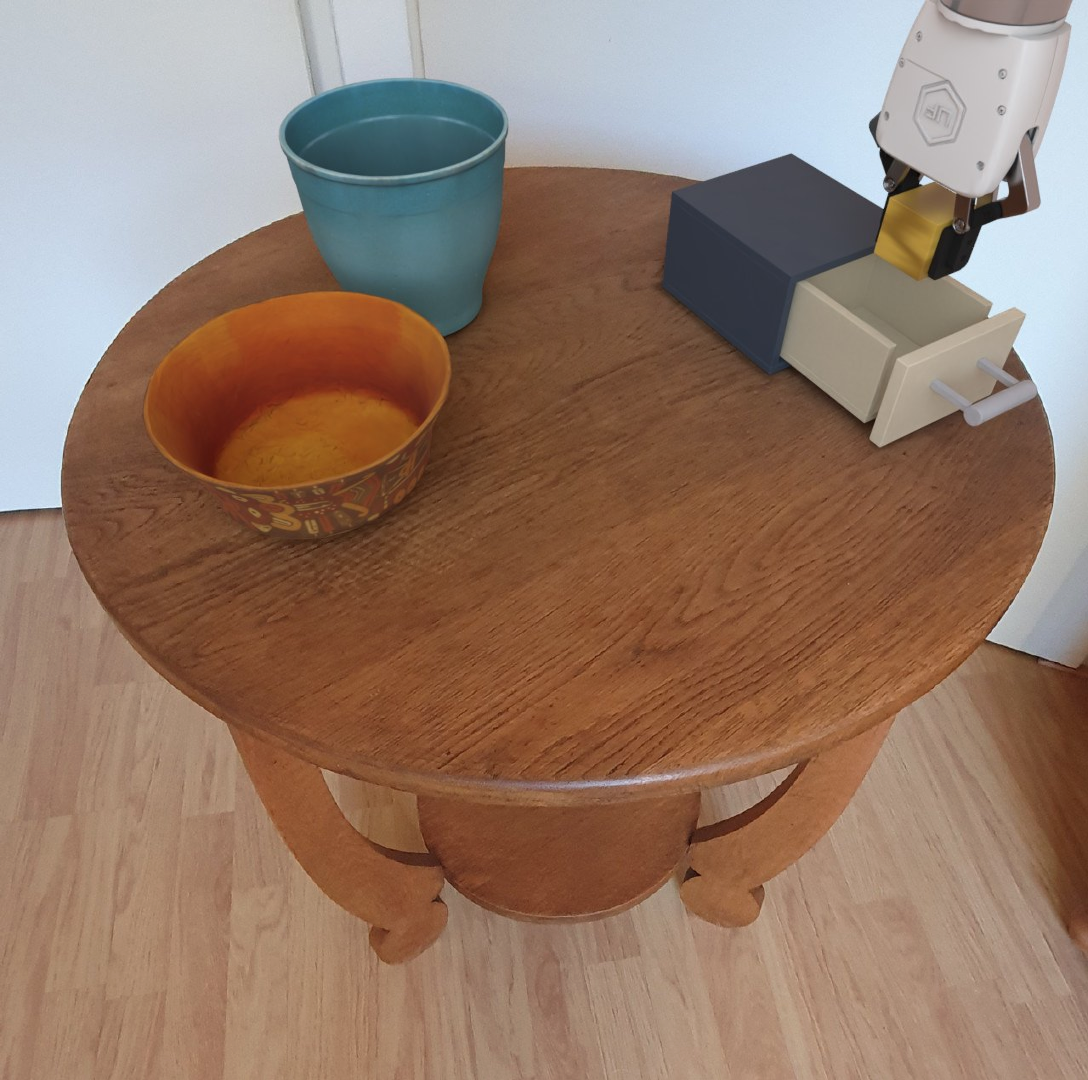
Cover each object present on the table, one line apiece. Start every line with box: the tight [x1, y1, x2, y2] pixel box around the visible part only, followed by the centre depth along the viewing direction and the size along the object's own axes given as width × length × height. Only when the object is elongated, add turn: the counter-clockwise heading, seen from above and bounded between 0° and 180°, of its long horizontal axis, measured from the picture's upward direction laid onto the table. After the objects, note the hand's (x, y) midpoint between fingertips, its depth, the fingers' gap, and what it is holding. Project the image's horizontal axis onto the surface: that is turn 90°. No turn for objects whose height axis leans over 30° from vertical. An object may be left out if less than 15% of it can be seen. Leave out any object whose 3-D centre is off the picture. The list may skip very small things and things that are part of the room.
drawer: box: [780, 253, 1038, 448], centre depth 75 cm, size 20×12×8 cm, turn 31°
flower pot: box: [278, 77, 509, 338], centre depth 81 cm, size 18×18×17 cm
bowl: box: [141, 290, 453, 540], centre depth 68 cm, size 21×21×10 cm
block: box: [874, 181, 976, 281], centre depth 69 cm, size 4×4×4 cm
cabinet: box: [661, 152, 884, 376], centre depth 83 cm, size 16×14×10 cm
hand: (918, 254), depth 70 cm, fingers closed on block, 4 cm apart
